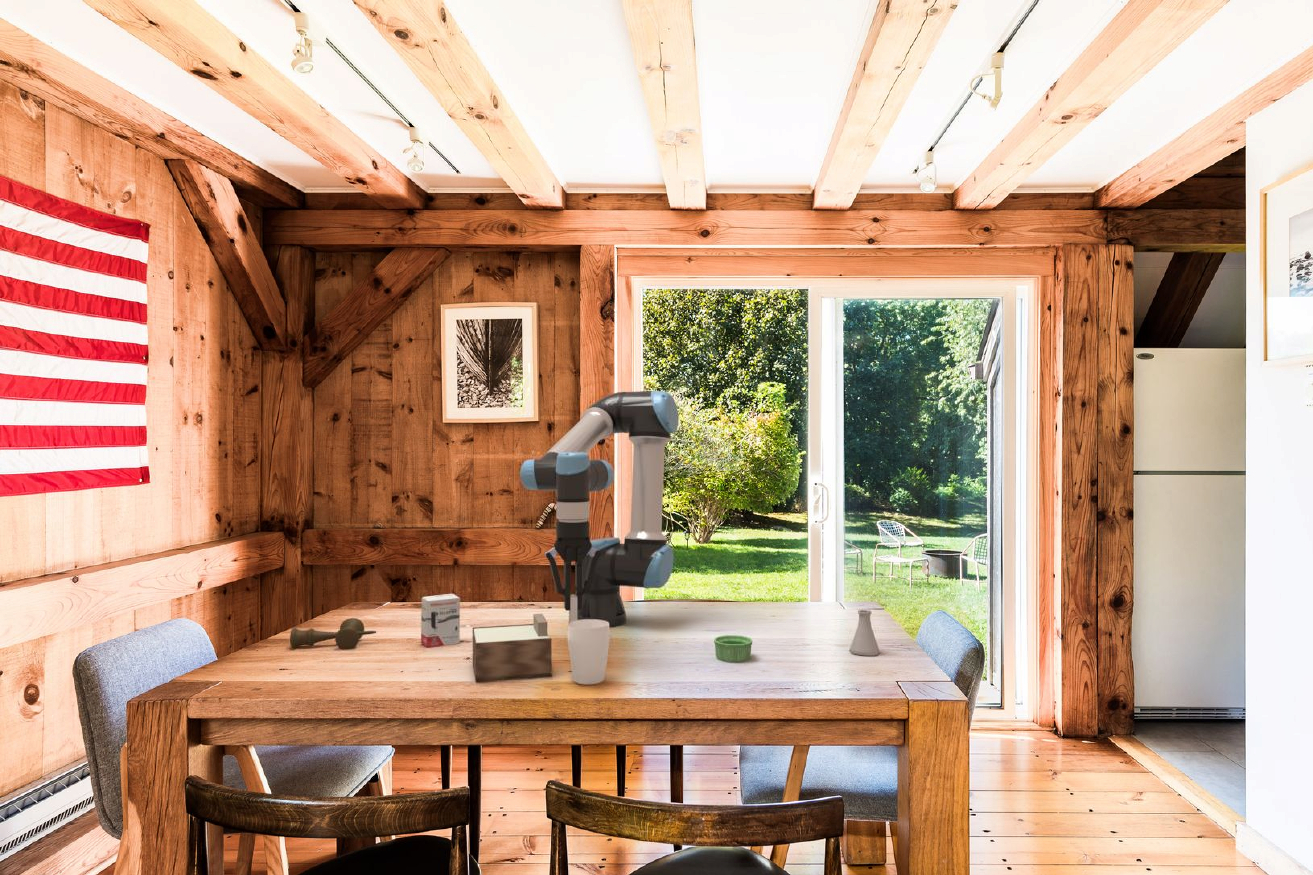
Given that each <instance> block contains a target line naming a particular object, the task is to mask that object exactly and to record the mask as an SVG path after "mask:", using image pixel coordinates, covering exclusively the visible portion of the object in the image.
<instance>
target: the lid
mask: <svg viewBox="0 0 1313 875" xmlns="http://www.w3.org/2000/svg"><path fill="white" fill-rule="evenodd" d="M532 617H533V623H532V624H533V625H526V626H510V627H494V628H477V629H474V636H475V642H476V643H481V642H496V641H511V640H526V639H542V638H551V637H550V635H549V634H548V633H549V632H548V621H547V619H546V616H544V614H543V613H533V616H532Z"/></svg>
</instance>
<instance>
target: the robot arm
mask: <svg viewBox="0 0 1313 875" xmlns="http://www.w3.org/2000/svg"><path fill="white" fill-rule="evenodd" d="M580 417H581V418H580V420H579V421H578V422H577V423H576V424H575V425H574V426H573V427H572V428H571V429H570V430H569V431H567V433H565V435H564V436H562V437H561V438H560V439H559V440H558V441H557V442H556V443H555V444H554V445H553V446H551V447H550V449H549V450H547V452H546V453H545V454H543V456H542V457H541V458H533V459H525V461H524V462H523V463H522V464H521V466H520V472H519V477H520V480H521V485H522V486H523V487H524V488H525V489H527V490H531V491H532V490H533V491H537V492H541V491H556V505H555V506H556V510H555V512H556V517H555V518H556V519H557V520H558V521H557V522H556V524H555V525H556V526H555V528H556V534H555V535H556V539H555V542H554V545H553V547H552V548H551V549H549V550H547V551H545V552H544V556H545V558H546V559H547V560H548V562H549V566H550V571H551V575H552V578H553V583H554V587H555V588H554V589H555V590H556V592H557V594H559V595H561V596H563V599H564V600H563V603H564V604H563V606H564V610H565V611H568V624H569V623H570V622H572V621H576V620H584V619H597V620H604V621H607V622H609V628H611V627H617V626H620V625H624V624H626V622H627V611H626V609H625V605H624V602H623V600H622V595H621V588H620V587H629V588H645V589H648V590H649V589H661V588H664V586H665V585H666V584H667V583H668V581H669V579H670V577H671V574H672V572H673V568H674V561H675V560H674V559H675V558H674V557H675V555H674V549H673V547H672V546H670V545H669V544H667V542H668V541H667V540H668V539H667V537H666V536H665V535H664V534H663V532H662V530H663V529H662V528H663V526H662V525H663V498H664V496H663V494H664V473H665V470H664V469H665V447H666V445H667V444H668V443H669V442H670V441H671V434H675V433H676V432H677V430H678V426H679V419H680V418H679V410H678V407H677V403H676V401H675V399H674V397H673V395H672V394H670V393H669V392H667V391H660V390H647V391H646V390H645V391H644V390H642V391H619V392H615V393H610V394H607V395H605V396H604V397H602V398H600V399H598V400H597V401H596V402H594V403H592V404H591V405H590V406H589V407H587V409H585V410H584V412H583V413H582V414H581V416H580ZM615 434H628V440H629V441H630V442H631V443H632V444H633V453H632V454H633V456H632V457H633V458H632V478H631V479H632V480H631V481H632V482H631V484H632V485H631V486H632V487H631V506H630V507H631V509H630V531H629V532H628V533H627V534H626V535H625V536H624V542H623V543H621V539H620V538H619V537H605V538H603V537H602V538H596V539H591V540H590V535H591V534H590V533H591V532H590V531H591V528H590V522H589V521H588V520H589V519H590V518H591V517H590V493H591V492H601V491H604V490H606V489H608V488H609V487H611V485H612V483H613V482H614V478H615V473H614V468H613V467H612V465H611V464H610V462H608V461H606V460H603V459H591V458H590V455H589V454H588V453H589V452H590V451H591V450H592V449H593V448H594V447H595V446H596V445H597V444H598V443H599V442H600V441H601V440H604V439H607V438H609V436H610V435H615ZM557 554H558V556H559V557H560V558H561V560H563V586H562V582H561V578H560V574H559V569H558V565H557V562H556V558H557ZM572 562H574V568H575V569H574V572H575V573H574V575H575V576H574V579H575V580H574V584H575V585H574V588H575V589H574V590H575V592H574V593H575V594H572Z"/></svg>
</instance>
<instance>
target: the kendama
mask: <svg viewBox="0 0 1313 875" xmlns="http://www.w3.org/2000/svg"><path fill="white" fill-rule="evenodd" d="M376 633H377V631H376V630H365V625H364V623H363V622H362V620H361V619H359V618H356V617H355V618H354V617H351V618H347V619H345V620H343V621H342V623H341V624H340V627H339V630H338V631H322V630H321V631H320V630H316V629H314V628H312V627H311V628H309V629H307V630H306V629H305V630H300V629H298V628H296V627H294V628H292V629H291V631H290V636H289V644H290V648H291V649H292V650H295V649H297V648H298V647H300V646H309V647H312V646H314V645H315V644H317V643H320V642H325V641H328V640H329V641H330V640H334V641H335V645H336V646H337V648H339V649H341V650H351V649H354V648H355V647H357V645H358V644H359V641H360V639H361V638H362V637H363V636H366V635H373V634H376Z"/></svg>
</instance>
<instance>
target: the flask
mask: <svg viewBox="0 0 1313 875" xmlns="http://www.w3.org/2000/svg"><path fill="white" fill-rule="evenodd" d="M857 614H858V624H857V628H856V631H855V634H854V637H853V639H852V641H851V645H850V647H849V652H850V653H851V654H853V655H859V656H866V657H867V656H874V657H876V656H878V655H879V654H881V651H880V648H879V645H878V642H877V640H876V637H875V634H874V630H873V628H872V622H871V621H872V620H871V615H872V611H871V610H869V609H858V610H857Z"/></svg>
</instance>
